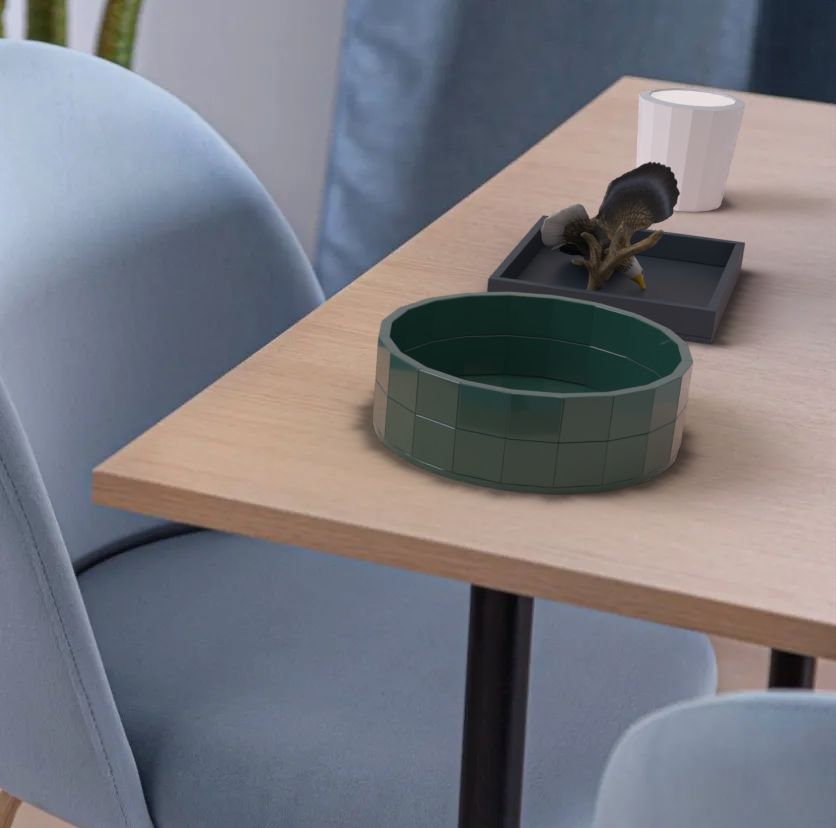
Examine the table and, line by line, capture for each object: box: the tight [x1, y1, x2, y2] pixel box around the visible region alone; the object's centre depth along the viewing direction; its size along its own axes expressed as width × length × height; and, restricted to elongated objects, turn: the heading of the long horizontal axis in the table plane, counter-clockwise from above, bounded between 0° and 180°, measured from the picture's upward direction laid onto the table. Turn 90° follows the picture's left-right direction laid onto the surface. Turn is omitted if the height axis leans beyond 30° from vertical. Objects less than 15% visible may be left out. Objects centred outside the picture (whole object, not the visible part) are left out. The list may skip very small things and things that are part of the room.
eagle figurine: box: [541, 162, 680, 291], centre depth 98 cm, size 8×7×9 cm
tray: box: [486, 214, 746, 346], centre depth 98 cm, size 14×12×2 cm
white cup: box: [635, 87, 747, 213], centre depth 116 cm, size 7×7×7 cm
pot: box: [372, 291, 694, 495], centre depth 78 cm, size 14×14×4 cm
